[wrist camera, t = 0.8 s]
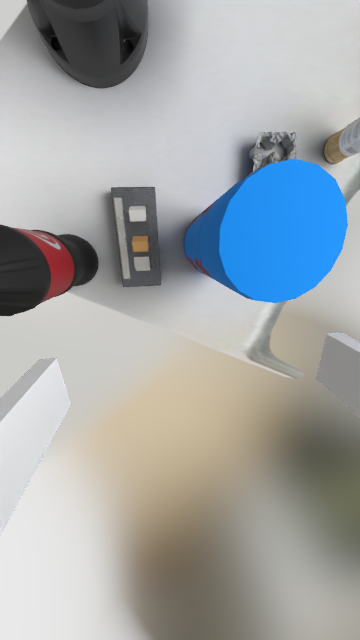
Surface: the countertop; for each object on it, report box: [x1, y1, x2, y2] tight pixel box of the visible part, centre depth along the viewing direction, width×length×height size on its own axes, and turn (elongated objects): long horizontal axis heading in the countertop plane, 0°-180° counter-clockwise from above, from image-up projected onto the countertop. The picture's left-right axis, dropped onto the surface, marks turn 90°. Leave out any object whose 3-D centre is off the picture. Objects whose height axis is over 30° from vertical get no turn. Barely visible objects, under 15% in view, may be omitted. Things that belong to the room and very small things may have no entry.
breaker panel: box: [111, 187, 161, 287], centre depth 37 cm, size 16×7×3 cm, turn 2°
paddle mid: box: [132, 236, 149, 252], centre depth 34 cm, size 2×2×3 cm
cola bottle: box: [0, 225, 98, 316], centre depth 24 cm, size 8×8×30 cm
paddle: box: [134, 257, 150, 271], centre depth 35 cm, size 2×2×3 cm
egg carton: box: [249, 132, 297, 175], centre depth 35 cm, size 11×8×4 cm
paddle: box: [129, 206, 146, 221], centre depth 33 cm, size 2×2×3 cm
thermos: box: [184, 159, 348, 303], centre depth 28 cm, size 11×11×25 cm
